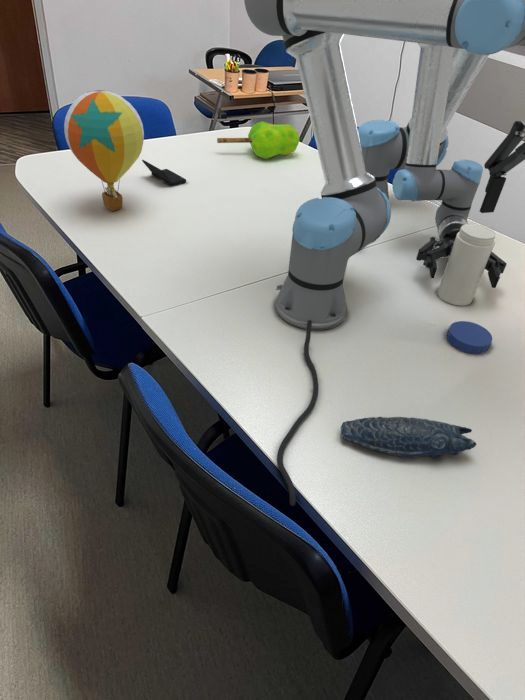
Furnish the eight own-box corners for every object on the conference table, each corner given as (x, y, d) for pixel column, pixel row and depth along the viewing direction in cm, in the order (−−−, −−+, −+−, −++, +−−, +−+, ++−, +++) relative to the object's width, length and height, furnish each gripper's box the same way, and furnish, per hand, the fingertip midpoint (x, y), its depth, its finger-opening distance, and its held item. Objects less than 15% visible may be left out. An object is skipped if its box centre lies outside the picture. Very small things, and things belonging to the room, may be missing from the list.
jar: (467, 288, 125) (491, 224, 115) (476, 307, 119) (502, 240, 109) (434, 285, 125) (455, 221, 115) (441, 304, 119) (464, 237, 108)
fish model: (474, 470, 81) (484, 449, 78) (339, 453, 82) (344, 431, 79) (465, 439, 86) (475, 417, 83) (339, 423, 87) (344, 401, 84)
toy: (64, 203, 145) (44, 85, 127) (127, 189, 156) (117, 79, 137) (97, 229, 134) (80, 105, 116) (162, 213, 145) (156, 96, 126)
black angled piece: (190, 175, 164) (173, 153, 156) (179, 193, 163) (161, 172, 155) (166, 170, 170) (147, 148, 162) (155, 188, 169) (136, 167, 161)
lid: (442, 326, 112) (444, 319, 110) (482, 330, 112) (485, 322, 110) (451, 352, 105) (454, 344, 104) (494, 356, 105) (498, 348, 104)
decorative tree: (214, 118, 187) (294, 118, 193) (214, 147, 194) (292, 146, 199) (220, 132, 174) (307, 132, 179) (220, 164, 180) (304, 162, 185)
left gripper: (651, 124, 71) (579, 260, 85) (526, 80, 89) (483, 198, 103) (610, 125, 69) (543, 264, 83) (491, 80, 87) (452, 200, 101)
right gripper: (499, 257, 134) (515, 300, 117) (402, 242, 136) (404, 283, 120) (510, 230, 129) (528, 271, 112) (409, 215, 131) (412, 254, 115)
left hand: (510, 228), depth 93 cm, fingers open, 13 cm apart
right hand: (464, 277), depth 116 cm, fingers open, 13 cm apart
